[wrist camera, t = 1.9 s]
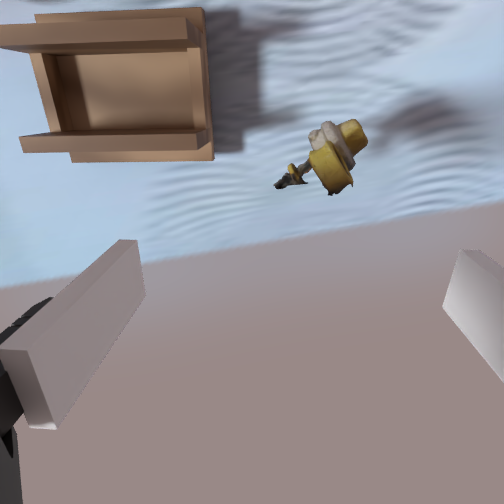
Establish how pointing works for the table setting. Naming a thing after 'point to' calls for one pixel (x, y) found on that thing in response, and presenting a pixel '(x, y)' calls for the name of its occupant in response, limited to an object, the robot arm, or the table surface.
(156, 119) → the stand
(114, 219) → the table surface
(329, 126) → the regulator
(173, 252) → the table surface
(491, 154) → the table surface
